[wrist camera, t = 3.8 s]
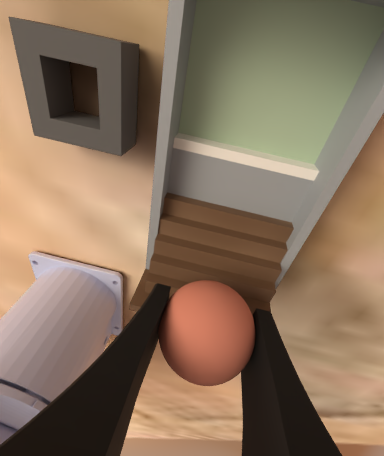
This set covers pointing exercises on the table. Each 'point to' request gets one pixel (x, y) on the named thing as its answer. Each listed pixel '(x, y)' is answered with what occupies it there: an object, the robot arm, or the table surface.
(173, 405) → the table surface
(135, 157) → the table surface
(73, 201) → the table surface
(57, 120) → the square tube segment
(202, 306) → the brick-red rubber ball
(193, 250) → the walnut step ramp
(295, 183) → the slate lane
